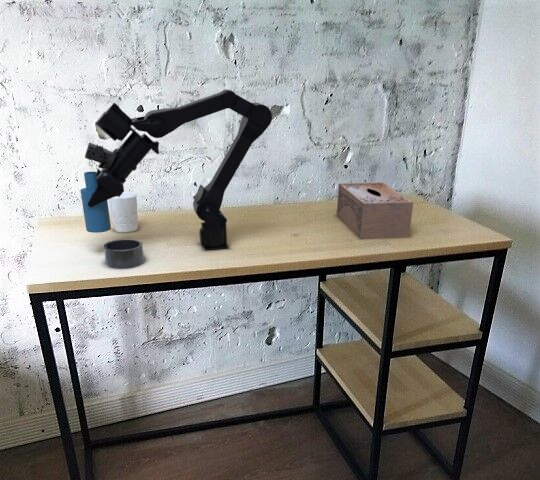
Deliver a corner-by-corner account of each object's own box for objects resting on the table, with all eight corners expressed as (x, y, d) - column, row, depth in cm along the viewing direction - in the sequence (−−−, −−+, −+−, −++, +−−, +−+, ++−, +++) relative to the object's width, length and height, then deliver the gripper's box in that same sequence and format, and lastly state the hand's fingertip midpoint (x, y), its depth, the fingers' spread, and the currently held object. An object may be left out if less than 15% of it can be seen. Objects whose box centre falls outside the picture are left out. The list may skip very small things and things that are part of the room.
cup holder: (142, 254, 144) (140, 237, 142) (145, 266, 136) (143, 249, 134) (105, 257, 142) (103, 240, 140) (106, 270, 134) (104, 252, 132)
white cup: (107, 229, 164) (102, 194, 160) (130, 223, 169) (127, 190, 165) (121, 234, 160) (117, 199, 155) (145, 229, 164) (141, 195, 160)
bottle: (110, 224, 145) (102, 169, 139) (111, 231, 140) (104, 174, 134) (85, 227, 143) (77, 171, 137) (86, 233, 138) (78, 175, 132)
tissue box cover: (336, 214, 181) (338, 183, 177) (379, 213, 183) (382, 182, 179) (360, 238, 159) (363, 203, 154) (409, 236, 161) (413, 202, 156)
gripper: (102, 125, 140) (63, 173, 142) (102, 136, 124) (58, 189, 126) (138, 157, 145) (100, 202, 148) (142, 170, 129) (99, 221, 132)
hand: (89, 202), depth 138 cm, fingers closed on bottle, 6 cm apart
